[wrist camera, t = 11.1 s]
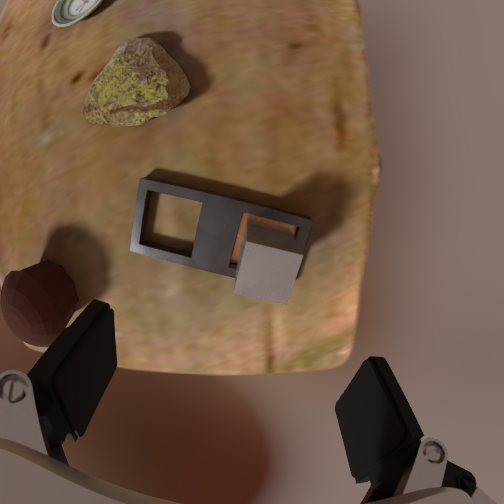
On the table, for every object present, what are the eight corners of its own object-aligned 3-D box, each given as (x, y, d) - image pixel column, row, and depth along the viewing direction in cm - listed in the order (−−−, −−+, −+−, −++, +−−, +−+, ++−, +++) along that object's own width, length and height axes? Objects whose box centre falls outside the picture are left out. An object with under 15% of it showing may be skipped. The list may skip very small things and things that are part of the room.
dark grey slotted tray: (145, 177, 27) (140, 178, 25) (310, 217, 28) (313, 220, 27) (135, 246, 29) (129, 250, 28) (287, 284, 31) (289, 290, 29)
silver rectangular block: (247, 218, 28) (246, 241, 20) (289, 228, 28) (303, 255, 21) (237, 257, 30) (233, 293, 22) (278, 267, 30) (286, 304, 22)
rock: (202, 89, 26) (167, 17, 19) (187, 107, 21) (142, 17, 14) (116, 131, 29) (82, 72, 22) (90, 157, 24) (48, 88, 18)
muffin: (75, 252, 30) (27, 285, 20) (95, 325, 33) (61, 369, 24) (22, 253, 30) (-21, 280, 20) (41, 316, 33) (8, 351, 24)
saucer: (87, -23, 16) (80, -29, 13) (132, -20, 17) (125, -29, 15) (49, 28, 18) (40, 24, 16) (88, 35, 20) (79, 29, 18)
